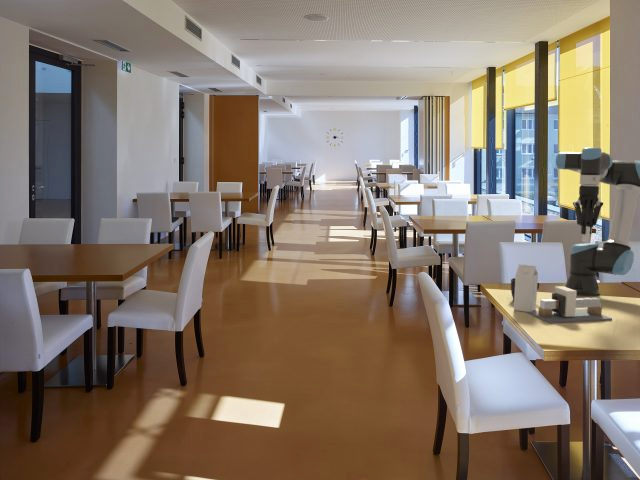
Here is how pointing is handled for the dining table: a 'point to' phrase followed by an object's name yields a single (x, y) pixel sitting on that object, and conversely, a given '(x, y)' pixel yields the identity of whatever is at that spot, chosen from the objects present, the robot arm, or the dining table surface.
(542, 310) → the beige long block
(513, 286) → the mug
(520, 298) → the milk carton
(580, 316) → the board
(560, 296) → the ring
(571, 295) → the sleeve
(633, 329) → the dining table surface
